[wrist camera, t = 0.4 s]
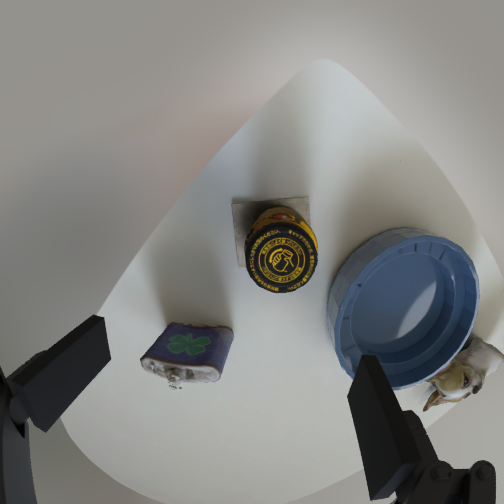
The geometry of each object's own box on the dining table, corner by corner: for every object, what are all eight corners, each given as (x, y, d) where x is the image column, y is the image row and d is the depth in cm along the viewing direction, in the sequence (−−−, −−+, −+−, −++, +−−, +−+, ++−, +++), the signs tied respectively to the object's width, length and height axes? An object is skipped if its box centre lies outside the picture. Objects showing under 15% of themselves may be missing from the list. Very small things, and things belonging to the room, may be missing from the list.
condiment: (312, 261, 32) (329, 301, 20) (238, 266, 33) (216, 309, 21) (307, 197, 30) (325, 201, 18) (231, 203, 31) (203, 212, 19)
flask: (234, 325, 34) (216, 377, 24) (234, 345, 35) (218, 399, 25) (165, 320, 35) (129, 364, 25) (168, 339, 36) (135, 385, 25)
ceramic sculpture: (510, 384, 23) (433, 437, 27) (488, 357, 32) (419, 402, 36) (511, 339, 22) (422, 401, 26) (482, 313, 30) (405, 364, 34)
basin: (340, 217, 30) (353, 223, 24) (468, 238, 29) (494, 247, 23) (313, 362, 34) (317, 391, 29) (431, 362, 33) (447, 385, 27)
